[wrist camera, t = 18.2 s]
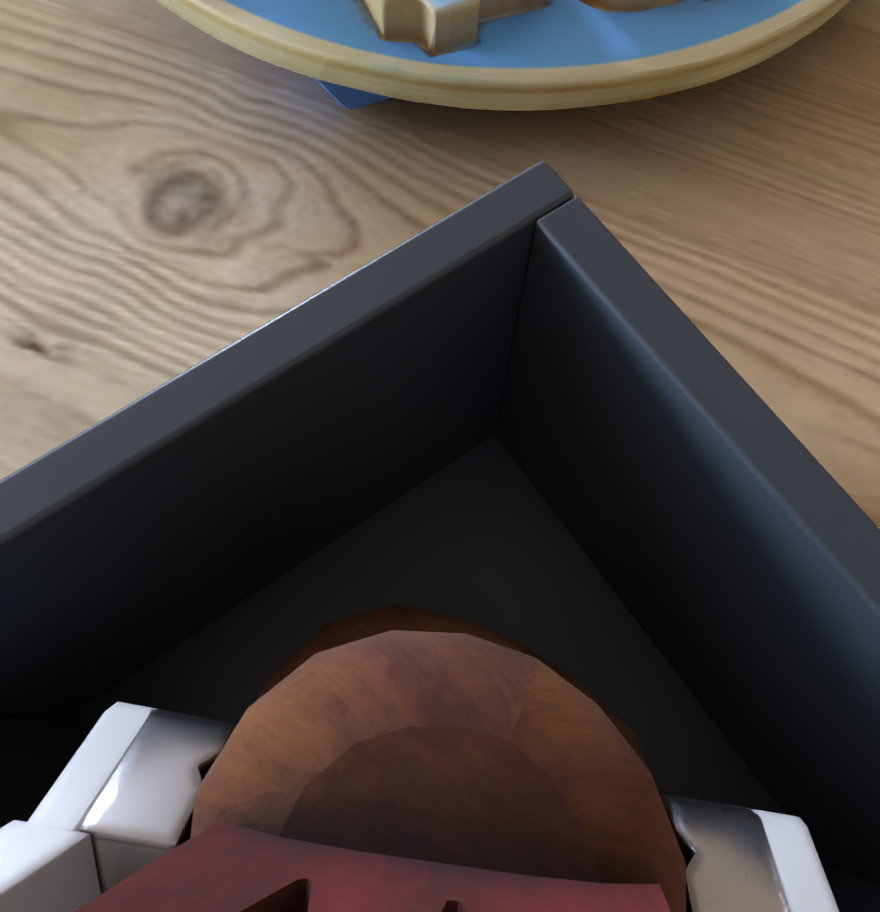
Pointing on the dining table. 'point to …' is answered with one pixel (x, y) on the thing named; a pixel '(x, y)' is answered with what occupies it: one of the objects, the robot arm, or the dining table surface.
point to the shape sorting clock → (508, 45)
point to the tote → (467, 523)
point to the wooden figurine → (419, 788)
